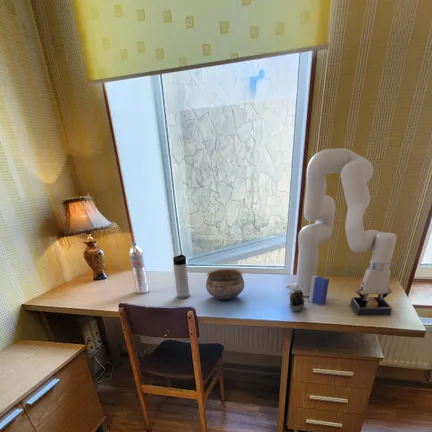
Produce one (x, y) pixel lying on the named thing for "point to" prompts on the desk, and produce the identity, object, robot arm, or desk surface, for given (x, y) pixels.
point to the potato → (371, 302)
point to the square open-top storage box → (370, 308)
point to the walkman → (318, 290)
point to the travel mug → (181, 276)
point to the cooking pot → (225, 283)
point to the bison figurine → (296, 300)
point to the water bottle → (138, 269)
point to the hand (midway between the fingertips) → (369, 307)
